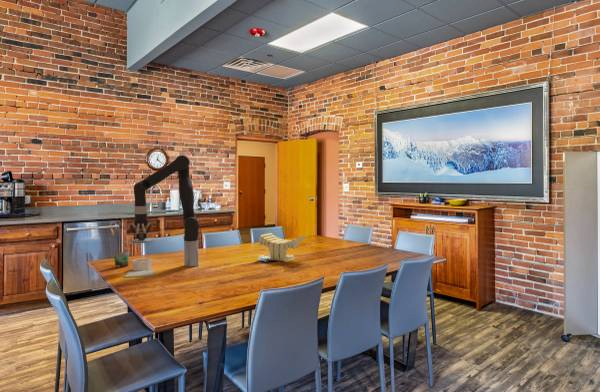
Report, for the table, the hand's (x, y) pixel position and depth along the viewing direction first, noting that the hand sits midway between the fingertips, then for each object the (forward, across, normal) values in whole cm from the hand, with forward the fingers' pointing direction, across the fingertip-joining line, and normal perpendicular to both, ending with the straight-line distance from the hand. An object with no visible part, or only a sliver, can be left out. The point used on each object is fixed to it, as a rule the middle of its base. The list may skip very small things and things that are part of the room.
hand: (141, 239), depth 240 cm
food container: (+20, +13, -11) cm, 26 cm away
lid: (+2, 0, 0) cm, 2 cm away
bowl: (+20, 0, 0) cm, 20 cm away
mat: (+20, -1, +13) cm, 24 cm away
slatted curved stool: (+21, -95, -5) cm, 97 cm away
